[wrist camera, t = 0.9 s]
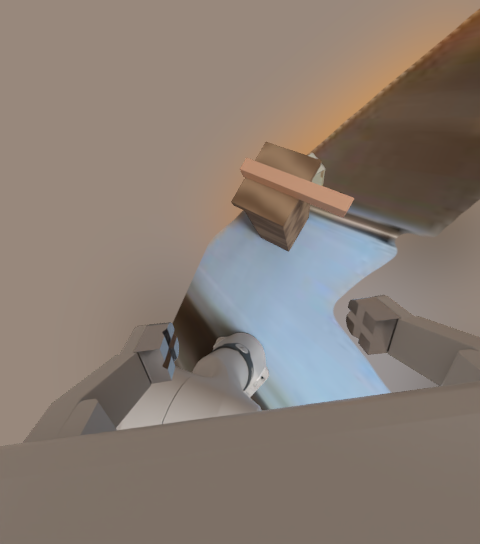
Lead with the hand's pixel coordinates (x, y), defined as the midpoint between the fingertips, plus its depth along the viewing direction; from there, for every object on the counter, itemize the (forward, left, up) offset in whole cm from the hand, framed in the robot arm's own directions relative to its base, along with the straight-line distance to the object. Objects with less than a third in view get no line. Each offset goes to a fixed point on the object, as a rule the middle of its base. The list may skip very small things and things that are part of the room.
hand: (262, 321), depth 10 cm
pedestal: (+19, +15, -54) cm, 59 cm away
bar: (+19, +11, -28) cm, 36 cm away
